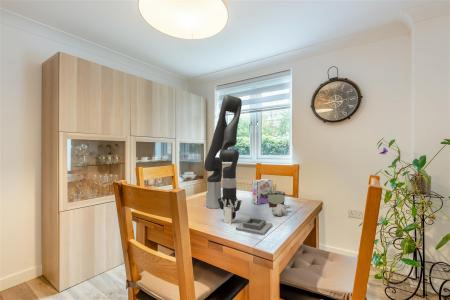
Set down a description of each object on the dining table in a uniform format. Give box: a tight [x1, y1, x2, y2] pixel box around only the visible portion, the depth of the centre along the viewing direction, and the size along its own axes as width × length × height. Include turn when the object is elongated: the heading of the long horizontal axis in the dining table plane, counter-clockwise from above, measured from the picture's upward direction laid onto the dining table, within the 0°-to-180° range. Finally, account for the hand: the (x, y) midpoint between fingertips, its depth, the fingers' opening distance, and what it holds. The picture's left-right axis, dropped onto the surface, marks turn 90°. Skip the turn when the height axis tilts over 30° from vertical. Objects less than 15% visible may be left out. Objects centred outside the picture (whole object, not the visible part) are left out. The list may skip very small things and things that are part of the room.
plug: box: [223, 205, 236, 224], centre depth 117 cm, size 4×5×8 cm
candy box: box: [252, 178, 273, 206], centre depth 155 cm, size 14×6×16 cm, turn 117°
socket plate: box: [235, 217, 273, 236], centre depth 108 cm, size 14×14×3 cm
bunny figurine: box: [270, 204, 292, 217], centre depth 130 cm, size 10×5×15 cm
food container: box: [267, 190, 287, 209], centre depth 145 cm, size 12×6×10 cm, turn 84°
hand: (229, 217), depth 117 cm, fingers closed on plug, 4 cm apart
